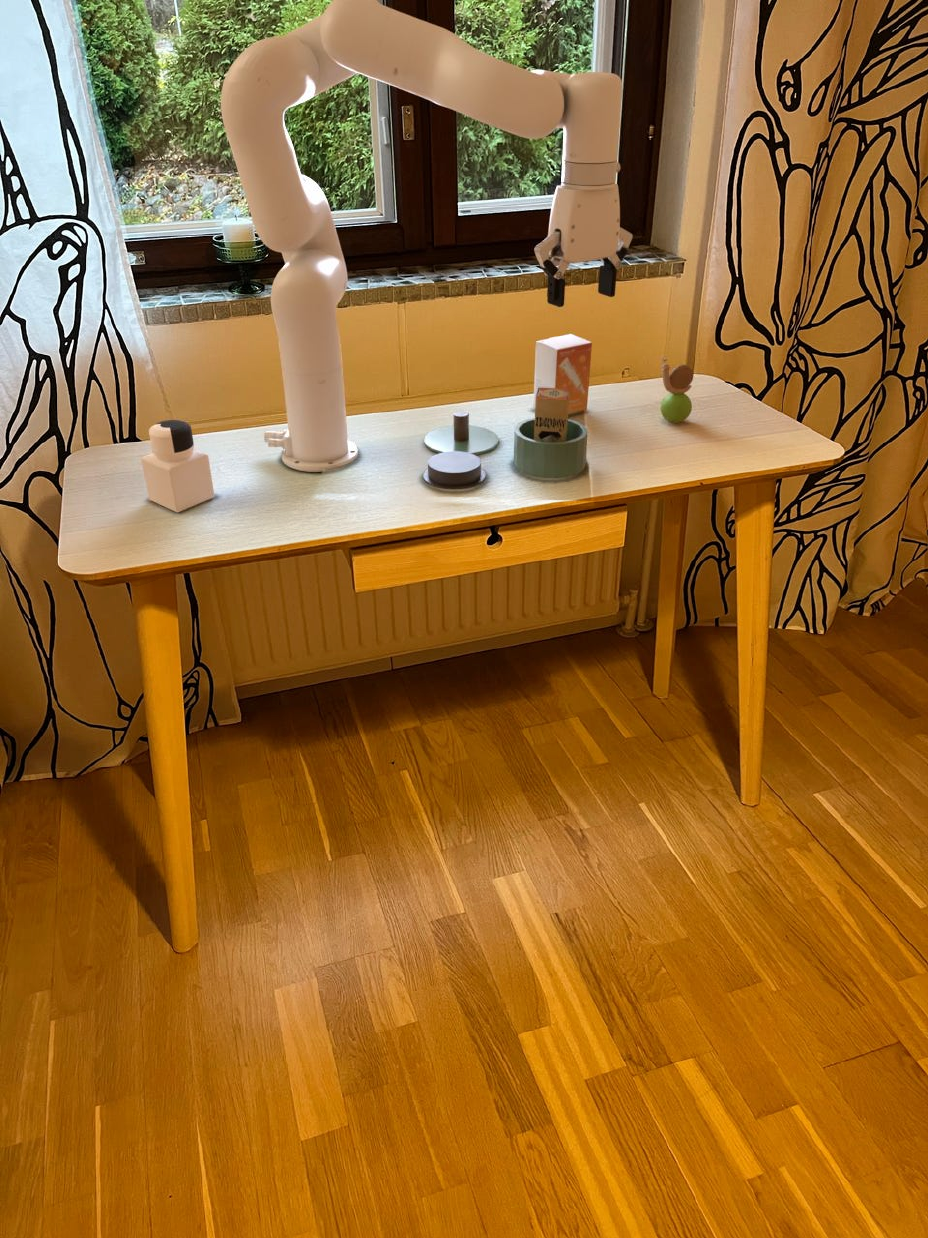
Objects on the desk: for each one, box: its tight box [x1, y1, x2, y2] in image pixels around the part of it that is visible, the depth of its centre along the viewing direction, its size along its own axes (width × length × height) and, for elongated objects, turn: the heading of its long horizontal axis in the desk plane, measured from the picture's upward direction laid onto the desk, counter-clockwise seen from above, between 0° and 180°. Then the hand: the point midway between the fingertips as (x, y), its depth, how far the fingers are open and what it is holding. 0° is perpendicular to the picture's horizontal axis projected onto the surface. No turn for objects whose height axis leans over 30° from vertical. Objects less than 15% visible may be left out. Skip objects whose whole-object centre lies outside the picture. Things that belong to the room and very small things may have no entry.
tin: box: [513, 417, 588, 479], centre depth 157 cm, size 12×12×6 cm
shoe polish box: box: [534, 387, 570, 442], centre depth 155 cm, size 5×5×12 cm
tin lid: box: [423, 410, 499, 456], centre depth 165 cm, size 13×13×6 cm
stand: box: [422, 451, 487, 491], centre depth 154 cm, size 10×10×3 cm
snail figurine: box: [660, 356, 694, 424], centre depth 171 cm, size 5×6×12 cm
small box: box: [532, 333, 593, 415], centre depth 176 cm, size 8×6×13 cm
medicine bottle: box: [141, 419, 215, 513], centre depth 145 cm, size 7×7×12 cm
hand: (581, 299), depth 144 cm, fingers open, 9 cm apart
